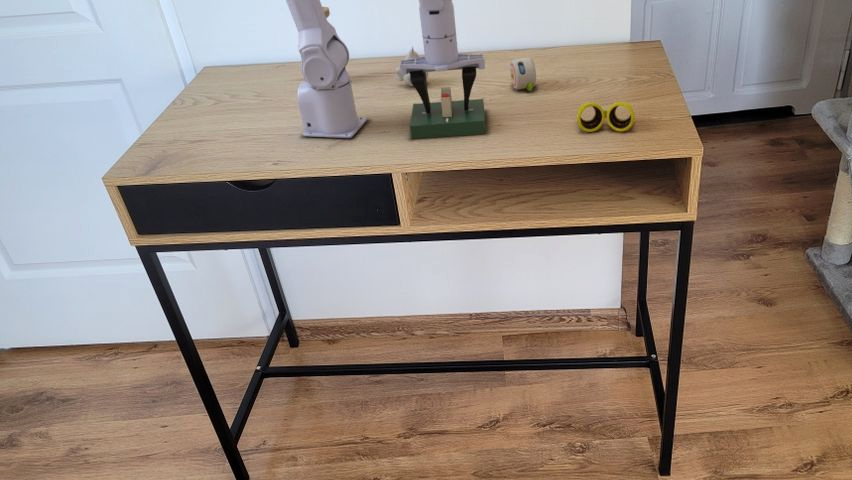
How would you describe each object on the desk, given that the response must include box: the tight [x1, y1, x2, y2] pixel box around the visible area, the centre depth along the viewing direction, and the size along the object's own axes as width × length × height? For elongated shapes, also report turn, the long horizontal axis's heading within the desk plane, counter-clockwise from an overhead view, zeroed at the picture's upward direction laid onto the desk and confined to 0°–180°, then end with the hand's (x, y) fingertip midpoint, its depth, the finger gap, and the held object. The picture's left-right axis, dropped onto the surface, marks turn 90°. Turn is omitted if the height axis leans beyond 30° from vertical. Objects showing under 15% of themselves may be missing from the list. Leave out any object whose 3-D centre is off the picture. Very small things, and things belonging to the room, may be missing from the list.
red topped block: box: [440, 86, 453, 117], centre depth 132 cm, size 5×2×4 cm, turn 2°
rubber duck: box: [394, 45, 429, 87], centre depth 150 cm, size 5×7×8 cm
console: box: [409, 98, 486, 140], centre depth 134 cm, size 13×10×3 cm
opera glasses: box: [576, 101, 636, 133], centre depth 129 cm, size 10×5×5 cm, turn 84°
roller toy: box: [509, 57, 537, 92], centre depth 146 cm, size 4×6×6 cm
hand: (447, 110), depth 133 cm, fingers open, 6 cm apart
